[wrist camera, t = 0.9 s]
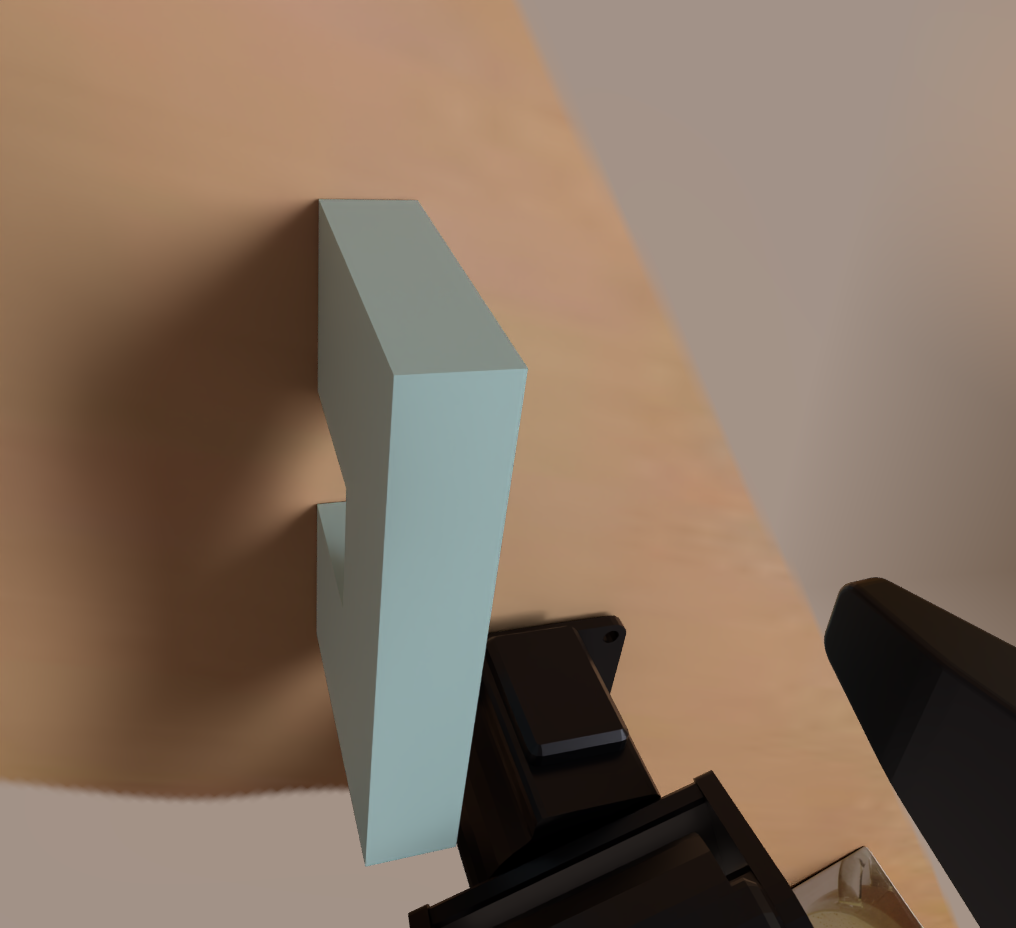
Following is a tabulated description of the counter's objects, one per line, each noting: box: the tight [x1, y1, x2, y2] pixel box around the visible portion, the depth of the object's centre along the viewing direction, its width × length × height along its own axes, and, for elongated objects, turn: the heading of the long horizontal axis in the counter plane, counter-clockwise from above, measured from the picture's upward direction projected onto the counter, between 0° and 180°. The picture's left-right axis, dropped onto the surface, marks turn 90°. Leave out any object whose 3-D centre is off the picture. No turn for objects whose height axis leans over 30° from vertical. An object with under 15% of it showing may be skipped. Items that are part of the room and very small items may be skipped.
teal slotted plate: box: [317, 199, 528, 866], centre depth 19 cm, size 12×2×7 cm, turn 172°
